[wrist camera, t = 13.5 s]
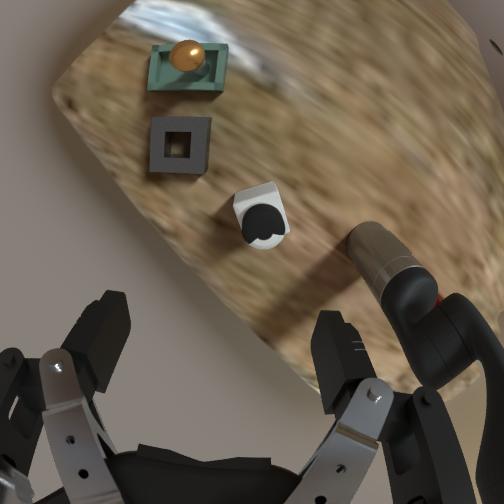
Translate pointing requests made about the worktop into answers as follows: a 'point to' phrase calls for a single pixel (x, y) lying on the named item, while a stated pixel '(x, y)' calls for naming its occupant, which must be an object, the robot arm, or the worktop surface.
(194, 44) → the brass-capped metal pin
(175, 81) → the tray
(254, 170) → the worktop surface
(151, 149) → the block
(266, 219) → the medicine bottle
